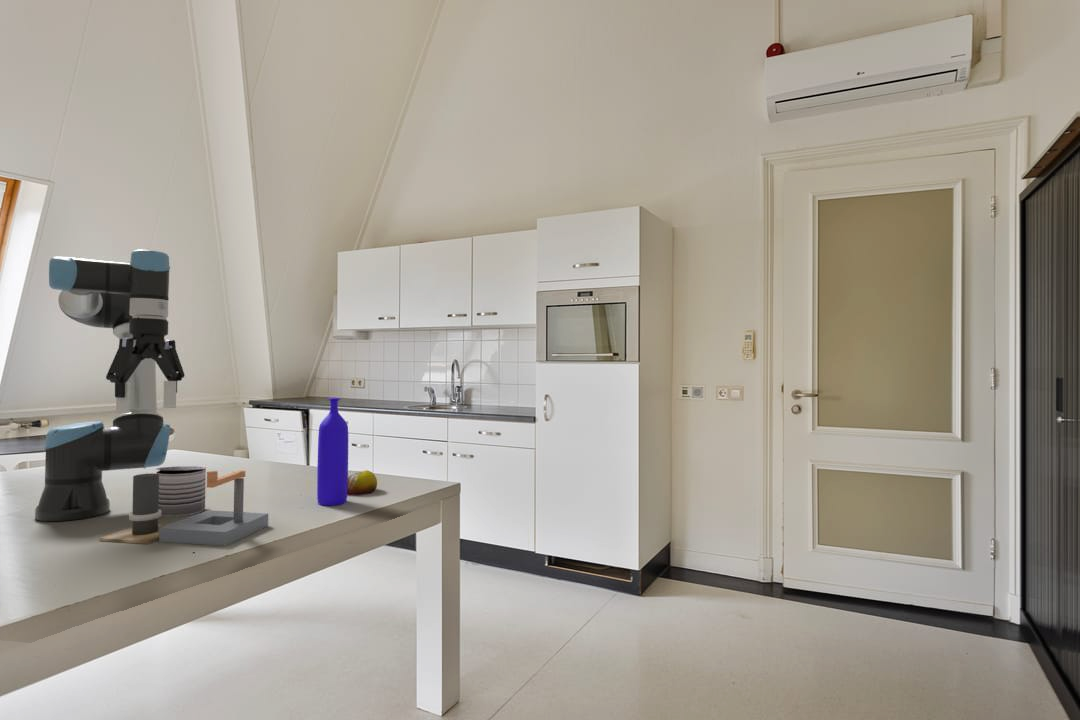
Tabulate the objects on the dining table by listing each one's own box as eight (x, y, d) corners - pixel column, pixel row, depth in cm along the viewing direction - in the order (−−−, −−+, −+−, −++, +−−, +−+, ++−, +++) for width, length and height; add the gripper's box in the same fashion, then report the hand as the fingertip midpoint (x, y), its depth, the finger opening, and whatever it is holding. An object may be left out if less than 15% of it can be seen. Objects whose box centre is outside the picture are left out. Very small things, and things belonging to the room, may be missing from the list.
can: (144, 514, 154) (145, 468, 154) (184, 504, 165) (185, 461, 165) (176, 519, 150) (177, 471, 150) (215, 508, 161) (216, 464, 161)
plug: (121, 534, 134) (123, 477, 134) (143, 527, 141) (144, 472, 141) (146, 536, 134) (147, 478, 134) (167, 528, 140) (168, 473, 140)
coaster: (99, 540, 132) (99, 537, 132) (142, 525, 144) (142, 523, 144) (148, 543, 130) (148, 541, 130) (187, 528, 142) (187, 526, 142)
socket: (159, 541, 132) (160, 483, 132) (208, 522, 148) (209, 470, 148) (225, 545, 130) (226, 486, 130) (268, 525, 146) (269, 472, 146)
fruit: (360, 485, 193) (366, 462, 192) (380, 499, 187) (386, 475, 186) (331, 490, 184) (336, 466, 182) (351, 505, 178) (357, 480, 177)
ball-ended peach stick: (215, 487, 126) (215, 472, 126) (203, 487, 126) (203, 472, 126) (247, 475, 140) (247, 462, 140) (236, 475, 140) (236, 461, 140)
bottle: (337, 507, 165) (339, 399, 165) (310, 505, 167) (312, 398, 167) (352, 500, 173) (354, 397, 173) (327, 498, 175) (329, 396, 175)
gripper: (118, 314, 124) (116, 415, 124) (201, 321, 149) (200, 406, 149) (86, 313, 125) (84, 414, 125) (174, 321, 150) (172, 405, 150)
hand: (147, 410), depth 137 cm, fingers open, 13 cm apart
